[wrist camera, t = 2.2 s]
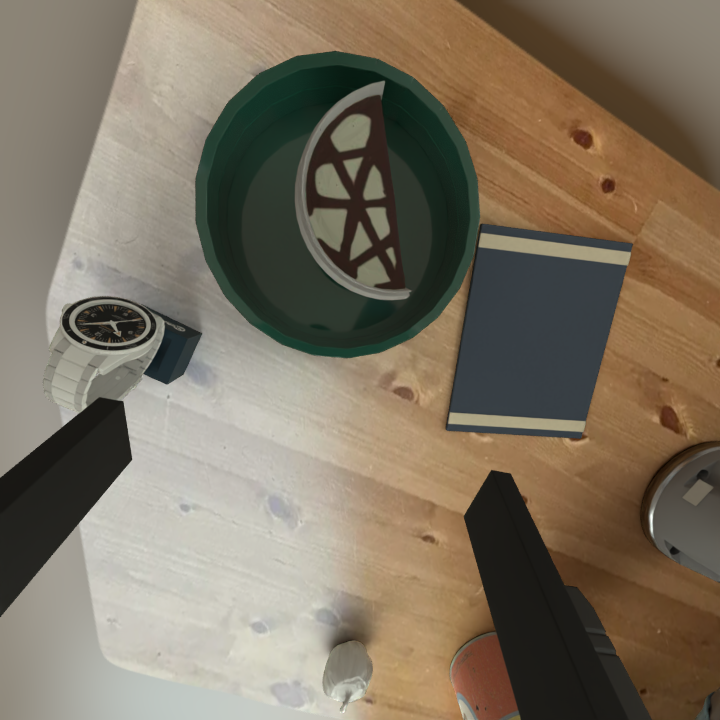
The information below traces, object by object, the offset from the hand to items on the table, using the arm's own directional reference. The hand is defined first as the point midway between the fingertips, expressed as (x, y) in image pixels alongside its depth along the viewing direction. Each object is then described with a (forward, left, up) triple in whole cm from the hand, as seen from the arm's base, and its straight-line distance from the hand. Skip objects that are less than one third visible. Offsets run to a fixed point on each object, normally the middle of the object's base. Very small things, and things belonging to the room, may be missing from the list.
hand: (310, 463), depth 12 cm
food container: (-1, -11, -20) cm, 22 cm away
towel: (-21, -3, -20) cm, 29 cm away
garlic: (-6, +36, -20) cm, 41 cm away
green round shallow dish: (-1, -11, -20) cm, 23 cm away
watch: (+14, 0, -20) cm, 24 cm away
